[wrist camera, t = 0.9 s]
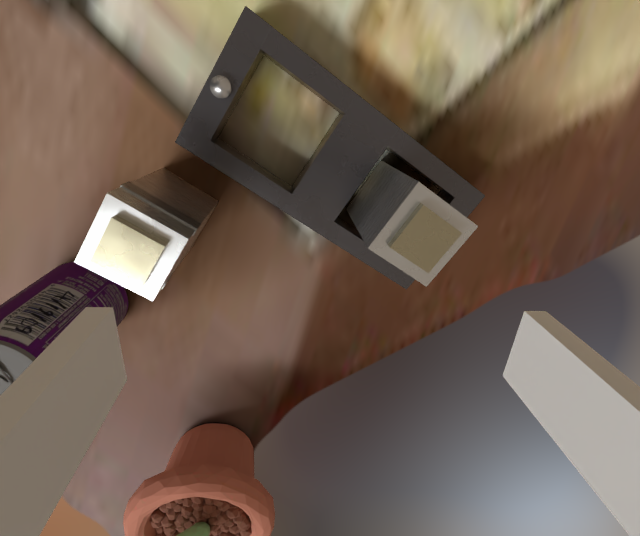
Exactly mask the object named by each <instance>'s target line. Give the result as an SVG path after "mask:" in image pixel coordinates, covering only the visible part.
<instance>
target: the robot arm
mask: <svg viewBox="0 0 640 536" xmlns="http://www.w3.org/2000/svg"><path fill="white" fill-rule="evenodd" d="M503 377H504V378H505V379H506V381H507V382H508V383H509V384H510V386H511V387H512V388H513V390H514V391H515V392H516V393H517V395H518V396H519V397H520V398H521V399H522V401H523V402H524V403H525V405H526V406H527V407H528V408H529V410H530V411H531V412H532V413H533V415H534V416H535V417H536V419H537V420H538V421H539V422H540V424H541V425H542V426H543V427H544V429H545V430H546V431H547V432H548V434H549V435H550V436H551V437H552V439H553V440H554V441H555V442H556V444H557V445H558V446H559V447H560V449H561V450H562V451H563V452H564V454H565V455H566V456H567V458H568V459H569V460H570V461H571V463H572V464H573V465H574V466H575V468H576V469H577V470H578V471H579V473H580V474H581V475H582V476H583V478H584V479H585V480H586V481H587V483H588V484H589V485H590V487H591V488H592V489H593V490H594V491H595V493H596V494H597V495H598V497H599V498H600V499H601V500H602V502H603V503H604V504H605V505H606V507H607V508H608V509H609V510H610V512H611V513H612V514H613V516H614V517H615V518H616V519H617V521H618V522H619V523H620V524H621V526H622V527H623V528H624V529H625V531H626V532H627V533H628V534H629V536H640V387H639V386H638V385H637V384H635V383H634V382H633V381H632V380H630V379H629V378H628V377H627V376H625V375H624V374H623V373H622V372H620V371H619V370H618V369H617V368H615V367H614V366H613V365H612V364H611V363H609V362H608V361H607V360H606V359H604V358H603V357H602V356H601V355H599V354H598V353H596V351H594V350H593V349H592V348H591V347H589V346H588V345H587V344H586V343H584V342H583V341H582V340H581V339H579V338H578V337H577V336H576V335H575V334H573V333H572V332H571V331H570V330H568V329H567V328H566V327H565V326H563V325H562V324H561V323H560V322H558V321H557V320H556V319H555V318H553V317H552V316H551V315H550V314H548V313H547V312H546V311H524V314H523V317H522V320H521V323H520V326H519V329H518V332H517V335H516V337H515V340H514V344H513V346H512V349H511V352H510V356H509V359H508V362H507V364H506V367H505V370H504V373H503ZM126 381H127V377H126V372H125V366H124V361H123V356H122V351H121V346H120V341H119V335H118V330H117V325H116V320H115V315H114V310H113V307H85V308H84V310H83V311H82V312H81V313H80V314H79V315H78V316H77V317H76V318H75V319H74V320H73V321H72V322H71V323H70V324H69V325H68V326H67V327H66V328H65V329H64V330H63V331H62V332H61V333H60V334H59V335H58V336H57V338H56V339H55V340H54V341H53V342H52V343H51V344H50V345H49V346H48V347H47V348H46V349H45V350H44V351H43V352H42V353H41V354H40V355H39V356H38V357H37V358H36V359H35V360H34V361H33V362H32V363H31V364H30V365H29V367H28V368H27V369H26V370H25V371H24V372H23V373H22V374H21V375H20V376H19V377H18V378H17V379H16V380H15V381H14V382H13V383H12V384H11V385H10V386H9V387H8V388H7V389H6V390H5V391H4V392H3V393H2V395H1V396H0V536H39V535H40V533H41V531H42V530H43V528H44V526H45V525H46V523H47V521H48V519H49V518H50V516H51V514H52V512H53V510H54V509H55V507H56V505H57V503H58V501H59V500H60V498H61V496H62V495H63V493H64V491H65V489H66V487H67V486H68V484H69V482H70V480H71V479H72V477H73V475H74V473H75V471H76V470H77V468H78V466H79V464H80V463H81V461H82V459H83V457H84V456H85V454H86V452H87V450H88V448H89V447H90V445H91V443H92V441H93V440H94V438H95V436H96V434H97V432H98V431H99V429H100V427H101V425H102V424H103V422H104V420H105V418H106V417H107V415H108V413H109V411H110V409H111V408H112V406H113V404H114V402H115V401H116V399H117V397H118V395H119V394H120V392H121V390H122V388H123V386H124V385H125V383H126Z"/></svg>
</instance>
